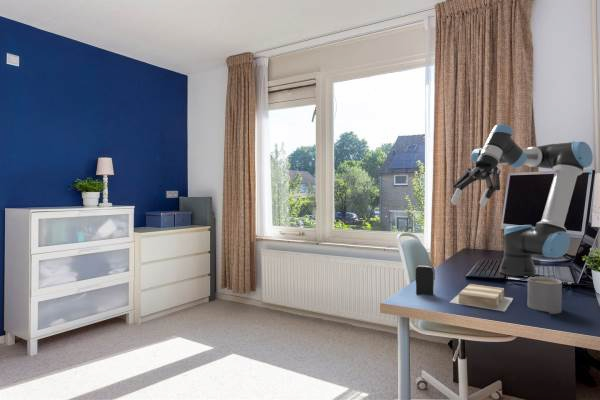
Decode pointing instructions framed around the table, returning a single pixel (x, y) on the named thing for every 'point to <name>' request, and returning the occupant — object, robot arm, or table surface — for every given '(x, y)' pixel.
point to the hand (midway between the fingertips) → (466, 204)
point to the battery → (425, 280)
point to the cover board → (481, 296)
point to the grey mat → (500, 307)
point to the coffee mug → (545, 294)
